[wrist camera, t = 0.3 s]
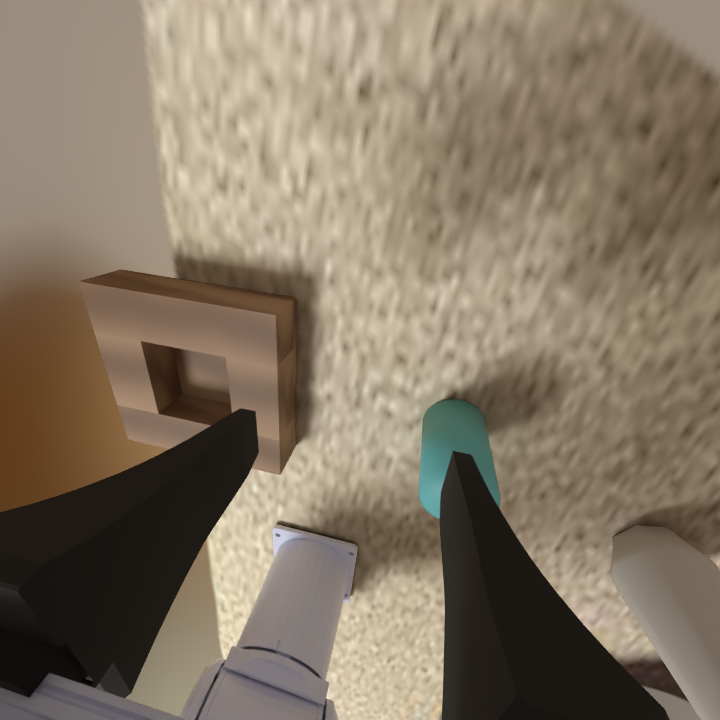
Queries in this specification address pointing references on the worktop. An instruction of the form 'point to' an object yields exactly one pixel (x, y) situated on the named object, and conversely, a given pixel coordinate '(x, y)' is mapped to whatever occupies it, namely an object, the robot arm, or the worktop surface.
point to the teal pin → (452, 448)
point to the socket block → (196, 358)
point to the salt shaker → (674, 607)
